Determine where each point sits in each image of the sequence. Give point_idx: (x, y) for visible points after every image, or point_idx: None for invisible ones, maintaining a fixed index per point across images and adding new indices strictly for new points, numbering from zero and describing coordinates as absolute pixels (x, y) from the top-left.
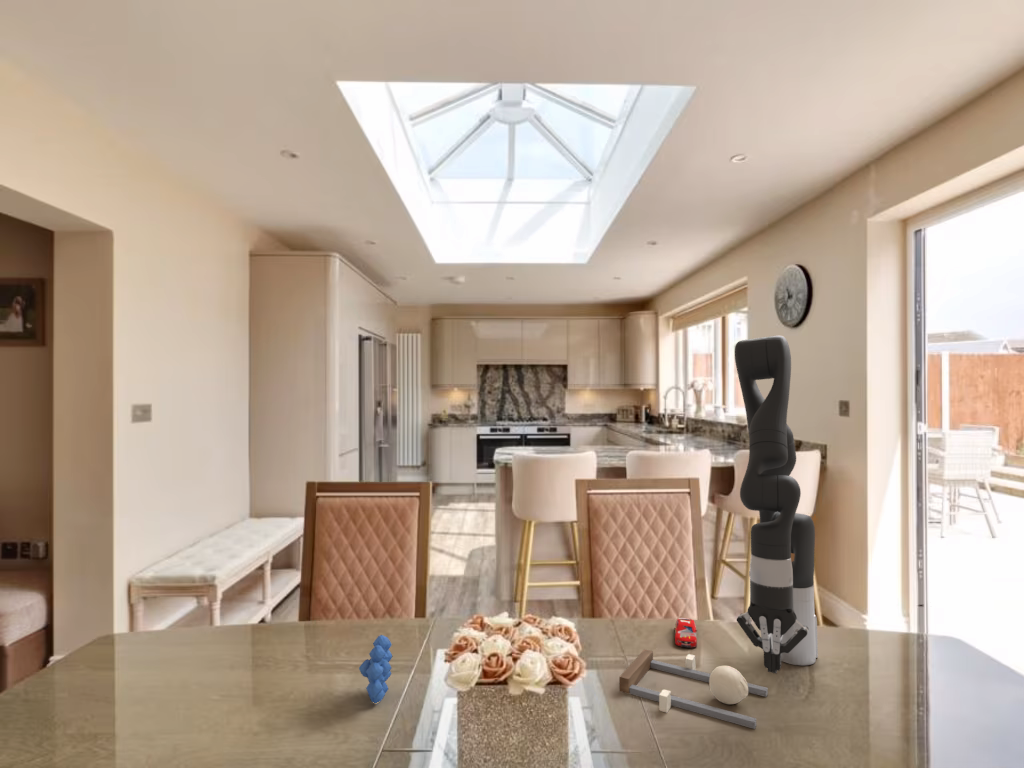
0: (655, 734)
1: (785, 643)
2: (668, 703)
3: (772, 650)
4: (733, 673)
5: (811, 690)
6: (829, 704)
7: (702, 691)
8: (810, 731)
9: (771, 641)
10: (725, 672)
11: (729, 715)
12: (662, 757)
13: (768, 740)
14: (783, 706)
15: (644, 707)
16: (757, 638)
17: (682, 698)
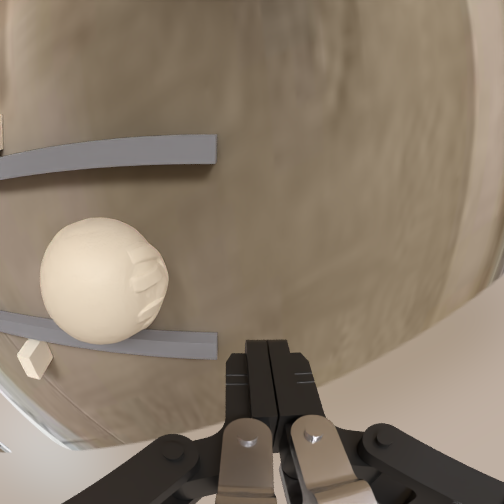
0: (83, 410)
1: (367, 470)
2: (43, 359)
3: (274, 428)
4: (107, 331)
5: (353, 45)
6: (402, 120)
7: (50, 234)
8: (344, 295)
9: (272, 458)
10: (85, 337)
11: (155, 355)
12: (123, 442)
13: None
14: (275, 197)
15: None
16: (180, 493)
17: (46, 328)
